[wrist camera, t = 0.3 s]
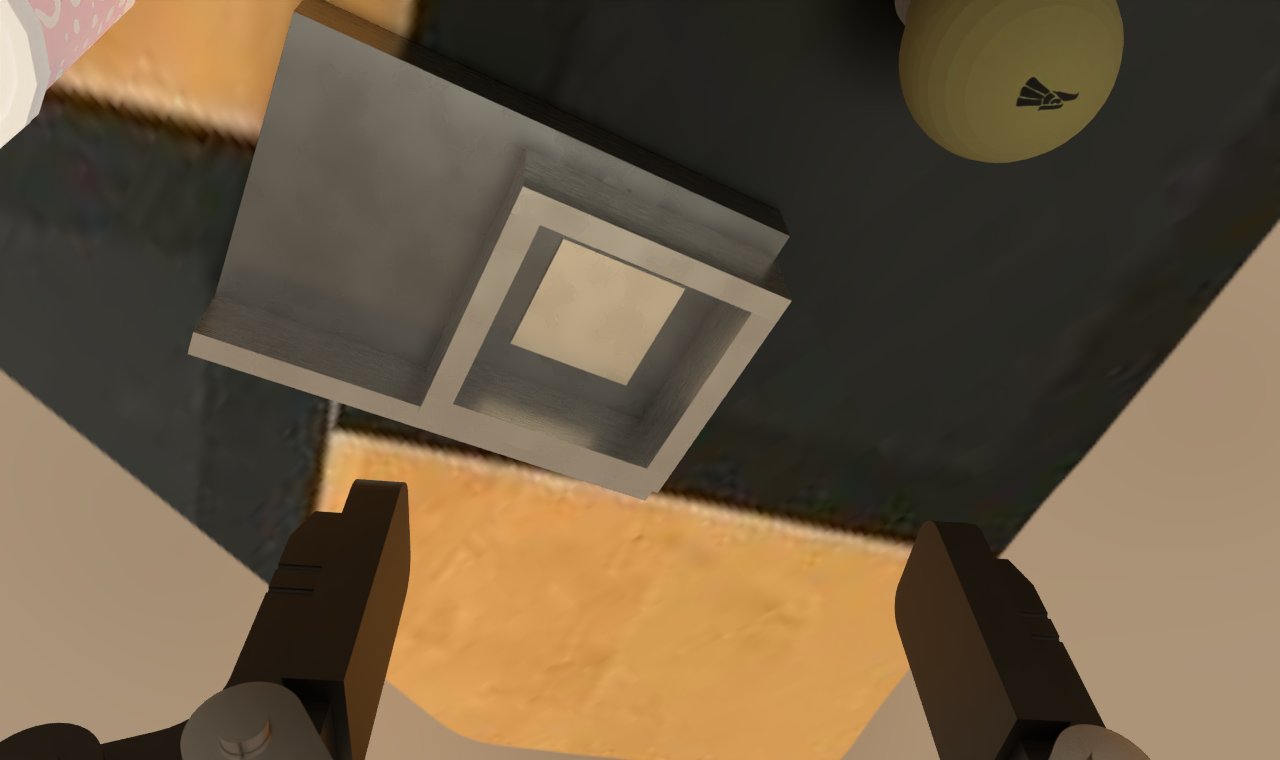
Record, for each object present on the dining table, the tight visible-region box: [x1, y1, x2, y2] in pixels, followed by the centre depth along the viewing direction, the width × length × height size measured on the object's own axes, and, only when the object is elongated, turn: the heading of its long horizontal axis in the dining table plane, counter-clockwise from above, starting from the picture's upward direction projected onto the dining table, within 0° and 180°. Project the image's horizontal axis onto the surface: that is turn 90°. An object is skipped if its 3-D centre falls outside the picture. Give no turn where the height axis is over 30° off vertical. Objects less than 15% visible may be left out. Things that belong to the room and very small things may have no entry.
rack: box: [188, 0, 792, 500], centre depth 33 cm, size 12×18×5 cm, turn 63°
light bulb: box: [895, 0, 1124, 163], centre depth 26 cm, size 6×6×10 cm
